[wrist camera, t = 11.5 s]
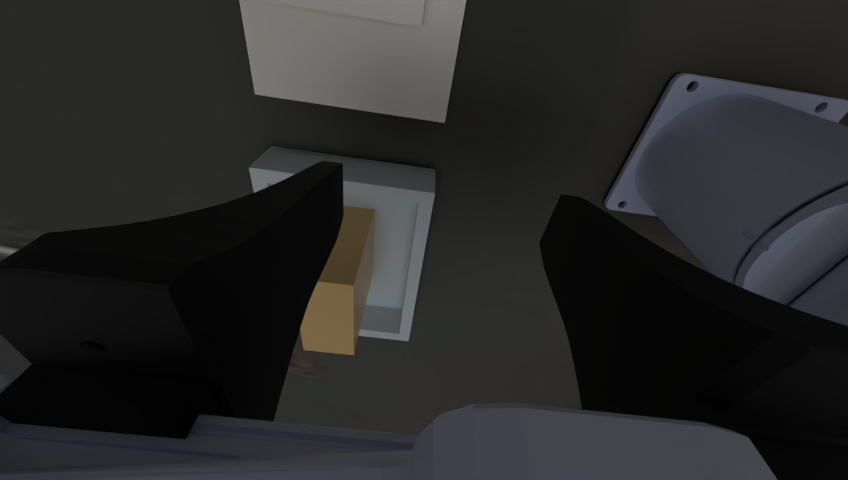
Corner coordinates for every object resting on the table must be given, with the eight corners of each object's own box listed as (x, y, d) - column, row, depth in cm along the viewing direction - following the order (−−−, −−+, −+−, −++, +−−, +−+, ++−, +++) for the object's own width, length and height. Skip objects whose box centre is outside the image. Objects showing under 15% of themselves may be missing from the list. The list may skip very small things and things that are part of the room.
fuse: (375, 209, 22) (353, 285, 16) (372, 274, 25) (353, 355, 20) (329, 203, 22) (292, 278, 16) (333, 270, 25) (303, 349, 20)
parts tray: (435, 169, 20) (435, 193, 18) (410, 311, 29) (408, 341, 26) (271, 145, 20) (248, 167, 17) (294, 298, 28) (281, 326, 26)
